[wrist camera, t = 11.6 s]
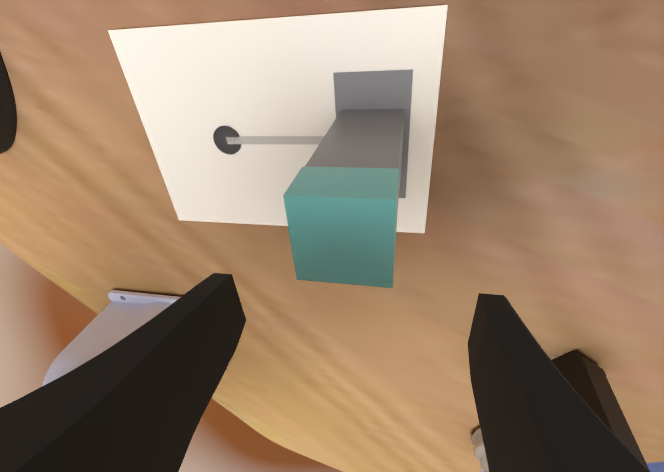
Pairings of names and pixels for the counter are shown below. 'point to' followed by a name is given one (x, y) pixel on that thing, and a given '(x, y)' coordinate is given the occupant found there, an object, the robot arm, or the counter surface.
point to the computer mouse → (6, 110)
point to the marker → (349, 201)
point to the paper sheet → (280, 102)
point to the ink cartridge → (598, 396)
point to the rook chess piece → (480, 449)
